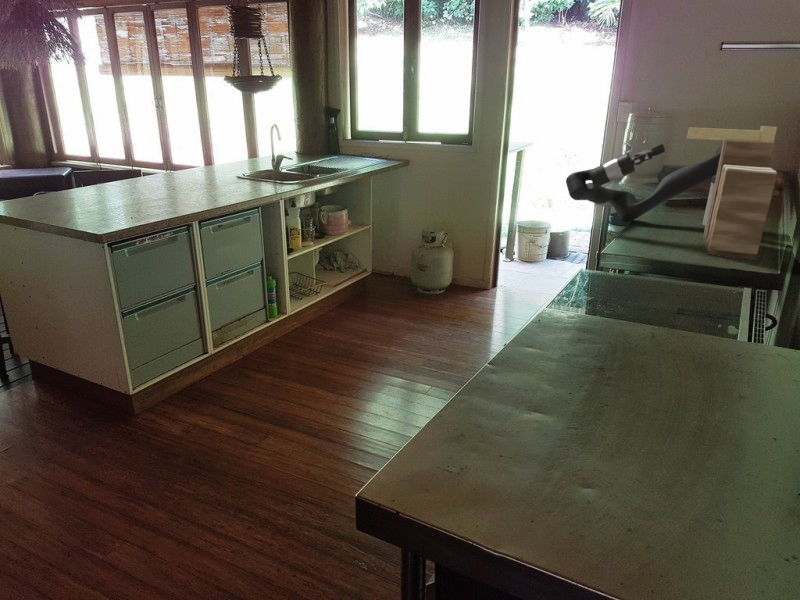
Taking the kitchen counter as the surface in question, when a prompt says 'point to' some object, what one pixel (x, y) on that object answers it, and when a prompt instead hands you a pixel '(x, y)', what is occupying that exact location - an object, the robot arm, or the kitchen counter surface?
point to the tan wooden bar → (734, 134)
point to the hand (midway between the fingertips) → (664, 147)
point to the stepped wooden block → (740, 199)
